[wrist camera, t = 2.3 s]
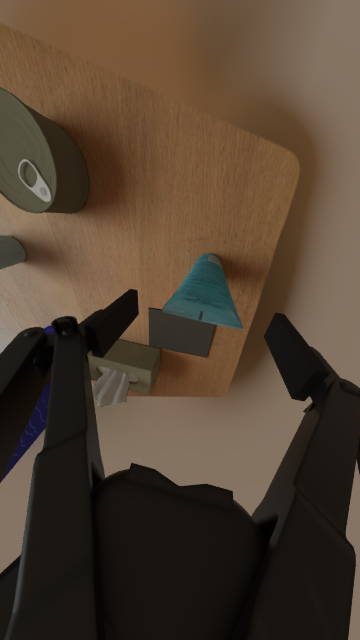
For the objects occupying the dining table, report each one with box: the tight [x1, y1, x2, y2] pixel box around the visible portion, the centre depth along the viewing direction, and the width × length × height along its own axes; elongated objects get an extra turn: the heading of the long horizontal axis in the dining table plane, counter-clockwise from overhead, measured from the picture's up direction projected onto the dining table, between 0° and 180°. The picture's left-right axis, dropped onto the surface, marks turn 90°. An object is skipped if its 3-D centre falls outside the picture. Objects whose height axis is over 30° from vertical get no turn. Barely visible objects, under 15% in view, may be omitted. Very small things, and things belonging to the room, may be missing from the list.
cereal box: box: [1, 326, 55, 481], centre depth 40 cm, size 22×6×30 cm, turn 179°
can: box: [0, 87, 89, 214], centre depth 24 cm, size 12×12×7 cm
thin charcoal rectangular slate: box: [149, 308, 215, 358], centre depth 40 cm, size 16×12×1 cm
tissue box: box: [87, 339, 161, 407], centre depth 40 cm, size 19×10×16 cm, turn 82°
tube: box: [162, 254, 243, 330], centre depth 22 cm, size 7×5×19 cm, turn 86°
